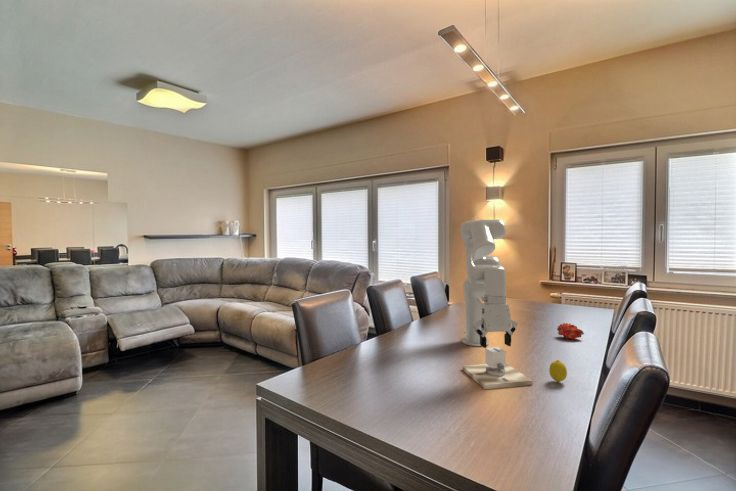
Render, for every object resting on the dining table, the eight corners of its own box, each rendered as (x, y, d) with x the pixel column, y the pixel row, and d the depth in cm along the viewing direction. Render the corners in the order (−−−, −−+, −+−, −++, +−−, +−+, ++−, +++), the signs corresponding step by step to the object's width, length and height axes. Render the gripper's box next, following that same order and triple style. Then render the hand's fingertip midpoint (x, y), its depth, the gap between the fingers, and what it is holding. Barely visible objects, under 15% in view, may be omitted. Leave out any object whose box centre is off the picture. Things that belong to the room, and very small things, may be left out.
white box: (485, 363, 133) (485, 347, 132) (498, 362, 133) (498, 346, 133) (495, 370, 125) (495, 353, 125) (508, 369, 126) (508, 352, 126)
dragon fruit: (555, 339, 181) (581, 346, 174) (554, 332, 175) (581, 340, 168) (559, 324, 184) (585, 331, 177) (558, 317, 178) (585, 324, 171)
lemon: (560, 387, 121) (560, 364, 121) (545, 381, 126) (545, 359, 126) (570, 383, 124) (570, 361, 123) (555, 378, 128) (555, 356, 128)
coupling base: (462, 369, 138) (462, 359, 138) (504, 366, 141) (504, 356, 141) (484, 389, 120) (484, 377, 120) (532, 384, 123) (532, 373, 123)
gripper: (478, 302, 124) (478, 350, 125) (522, 300, 127) (523, 347, 127) (468, 299, 132) (469, 344, 132) (510, 297, 135) (511, 341, 135)
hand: (495, 346), depth 130 cm, fingers open, 9 cm apart
